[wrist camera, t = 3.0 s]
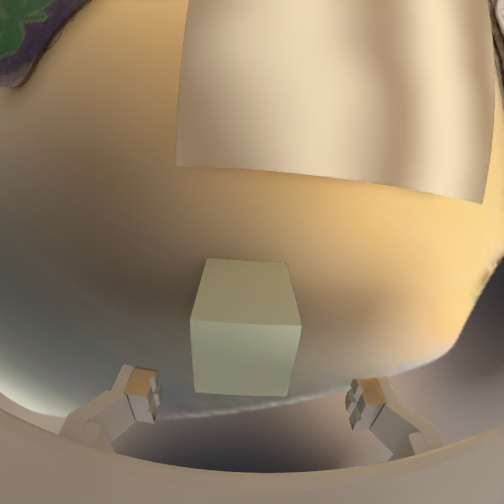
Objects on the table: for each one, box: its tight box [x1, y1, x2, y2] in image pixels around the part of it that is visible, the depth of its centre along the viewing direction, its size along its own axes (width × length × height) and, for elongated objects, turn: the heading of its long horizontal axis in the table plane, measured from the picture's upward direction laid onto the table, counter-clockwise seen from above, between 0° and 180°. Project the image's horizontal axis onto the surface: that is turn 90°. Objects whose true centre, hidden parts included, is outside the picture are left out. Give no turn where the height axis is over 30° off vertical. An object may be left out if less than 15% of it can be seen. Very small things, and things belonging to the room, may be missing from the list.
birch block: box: [176, 0, 495, 204], centre depth 10 cm, size 14×14×5 cm
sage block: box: [190, 258, 302, 396], centre depth 15 cm, size 4×4×6 cm
